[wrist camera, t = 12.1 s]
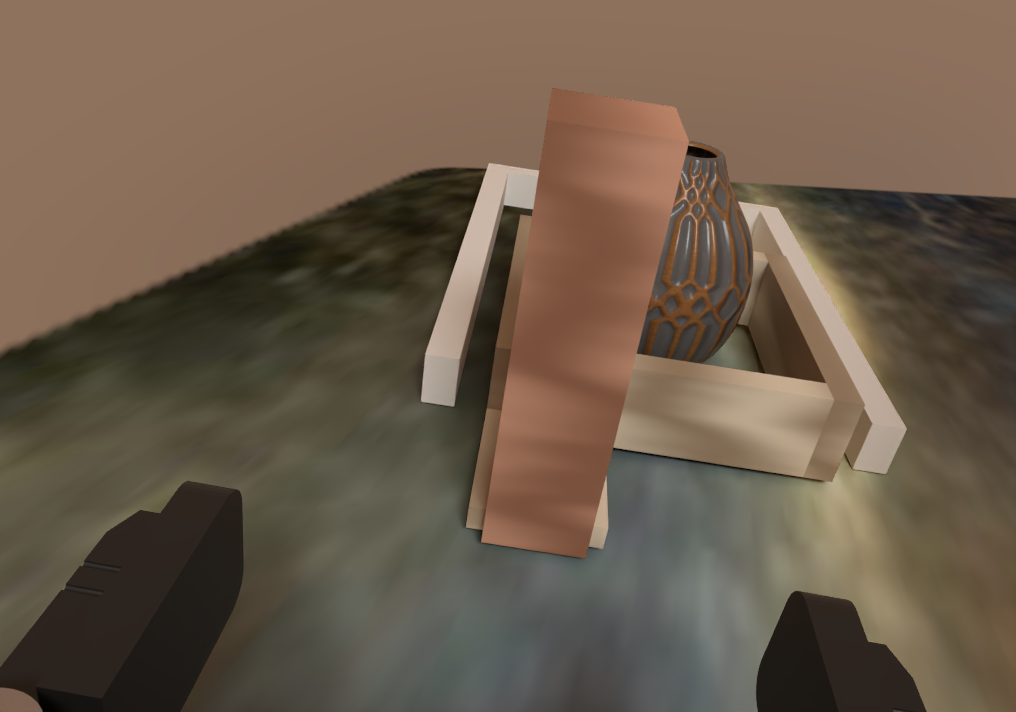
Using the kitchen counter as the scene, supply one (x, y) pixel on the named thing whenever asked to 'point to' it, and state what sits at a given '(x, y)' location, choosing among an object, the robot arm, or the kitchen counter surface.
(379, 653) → the kitchen counter surface
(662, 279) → the vase
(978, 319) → the kitchen counter surface
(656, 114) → the square wooden tray
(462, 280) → the rail lane
